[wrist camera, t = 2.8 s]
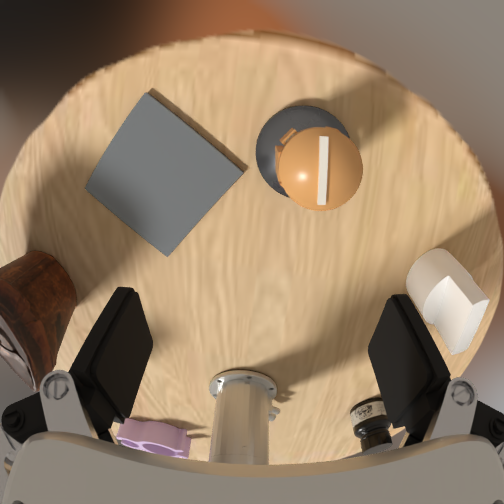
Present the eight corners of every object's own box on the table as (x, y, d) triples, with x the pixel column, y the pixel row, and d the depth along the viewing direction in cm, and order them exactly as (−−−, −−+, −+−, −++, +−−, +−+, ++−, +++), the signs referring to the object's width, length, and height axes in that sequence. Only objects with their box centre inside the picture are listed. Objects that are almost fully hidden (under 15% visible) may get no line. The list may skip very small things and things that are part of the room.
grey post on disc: (366, 155, 27) (398, 172, 20) (302, 214, 31) (314, 247, 24) (303, 87, 24) (319, 78, 17) (236, 152, 28) (227, 168, 20)
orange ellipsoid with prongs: (341, 192, 25) (360, 212, 20) (275, 191, 25) (279, 212, 21) (344, 126, 22) (366, 131, 17) (274, 123, 22) (279, 126, 17)
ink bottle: (383, 391, 49) (396, 436, 39) (389, 404, 53) (400, 445, 42) (343, 407, 52) (351, 453, 42) (353, 419, 56) (361, 459, 45)
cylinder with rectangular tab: (410, 252, 33) (454, 309, 22) (458, 244, 32) (505, 292, 21) (401, 303, 37) (432, 362, 26) (446, 293, 36) (481, 344, 26)
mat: (243, 171, 28) (243, 173, 28) (168, 254, 34) (167, 257, 33) (147, 92, 24) (145, 92, 24) (87, 187, 29) (84, 188, 29)
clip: (131, 430, 65) (126, 448, 59) (116, 412, 59) (110, 432, 53) (193, 441, 65) (190, 461, 59) (185, 425, 59) (181, 447, 53)
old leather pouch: (0, 233, 33) (-63, 291, 17) (75, 235, 33) (-3, 319, 17) (30, 310, 42) (-11, 372, 26) (105, 327, 42) (65, 411, 26)
